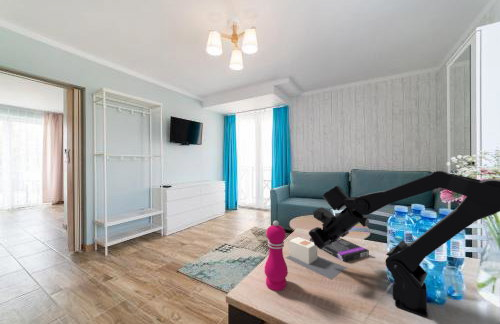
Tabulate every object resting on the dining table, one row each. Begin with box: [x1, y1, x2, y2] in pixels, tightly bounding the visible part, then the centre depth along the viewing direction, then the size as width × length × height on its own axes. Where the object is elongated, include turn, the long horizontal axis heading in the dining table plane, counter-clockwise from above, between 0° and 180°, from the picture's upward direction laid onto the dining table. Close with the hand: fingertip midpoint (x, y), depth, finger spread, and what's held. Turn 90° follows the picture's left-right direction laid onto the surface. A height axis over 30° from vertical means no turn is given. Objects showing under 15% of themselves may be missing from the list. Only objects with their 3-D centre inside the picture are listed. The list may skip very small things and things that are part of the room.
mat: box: [285, 255, 347, 280], centre depth 74 cm, size 19×11×1 cm, turn 40°
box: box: [309, 237, 370, 263], centre depth 85 cm, size 14×4×20 cm
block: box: [288, 236, 318, 264], centre depth 78 cm, size 6×6×9 cm
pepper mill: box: [264, 220, 289, 292], centre depth 61 cm, size 7×7×20 cm
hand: (315, 244), depth 73 cm, fingers closed
